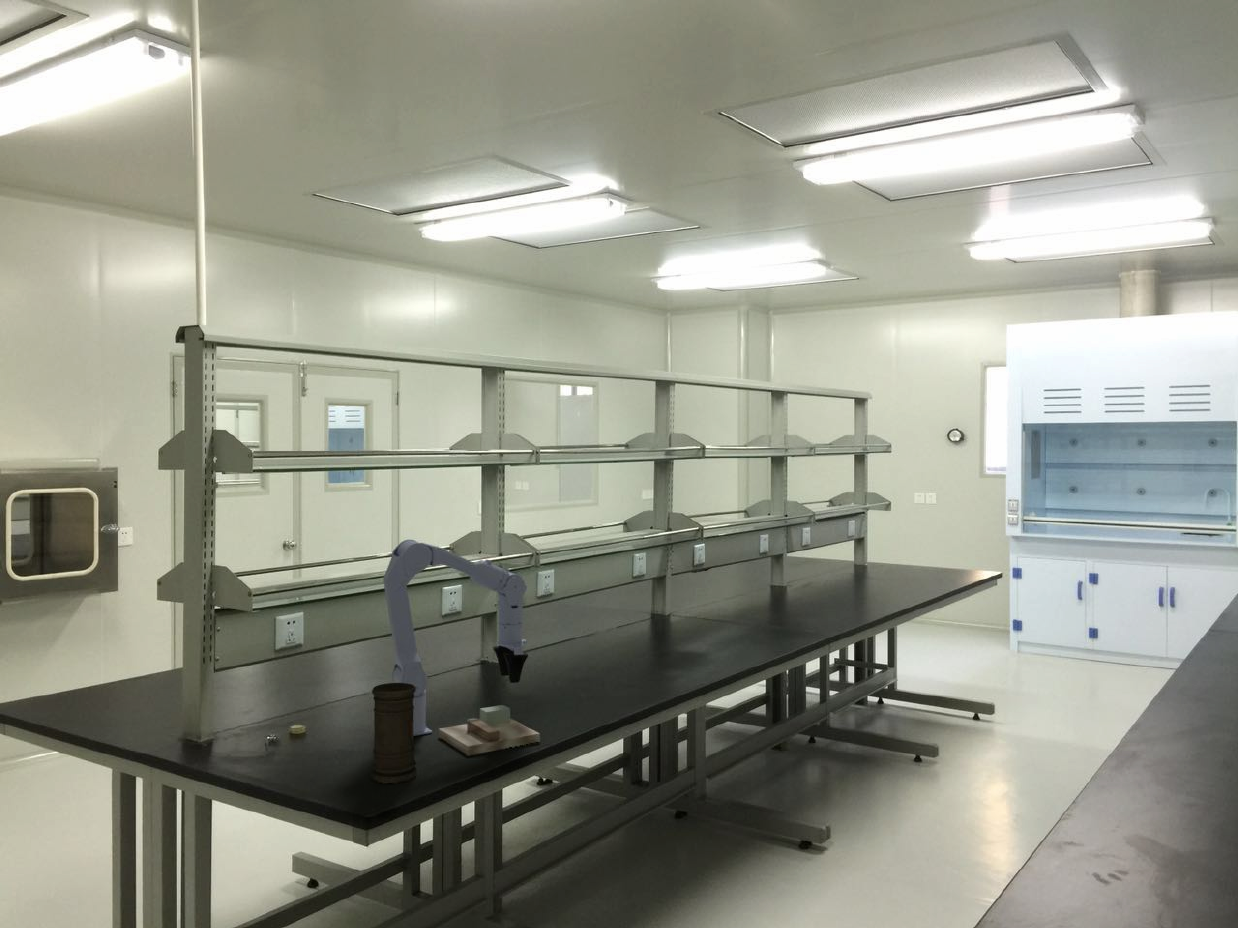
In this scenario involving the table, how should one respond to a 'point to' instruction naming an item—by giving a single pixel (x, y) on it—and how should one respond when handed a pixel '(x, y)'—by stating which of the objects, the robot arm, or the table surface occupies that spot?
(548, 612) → the table surface
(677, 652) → the table surface
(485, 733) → the stool leg
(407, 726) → the container
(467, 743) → the stool seat
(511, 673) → the robot arm
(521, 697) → the table surface
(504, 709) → the block
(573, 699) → the table surface
